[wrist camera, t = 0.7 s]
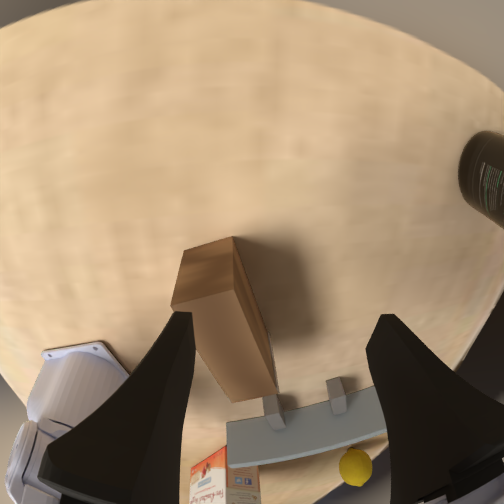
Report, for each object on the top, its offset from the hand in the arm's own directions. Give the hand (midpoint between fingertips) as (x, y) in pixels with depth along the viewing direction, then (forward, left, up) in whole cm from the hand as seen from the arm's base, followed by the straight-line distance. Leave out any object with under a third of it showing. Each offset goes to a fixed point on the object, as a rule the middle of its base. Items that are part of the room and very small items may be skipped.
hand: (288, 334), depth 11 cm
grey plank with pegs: (-1, -21, -10) cm, 24 cm away
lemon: (+4, -44, -10) cm, 46 cm away
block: (-4, -5, -10) cm, 12 cm away
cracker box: (-17, -37, -10) cm, 42 cm away
